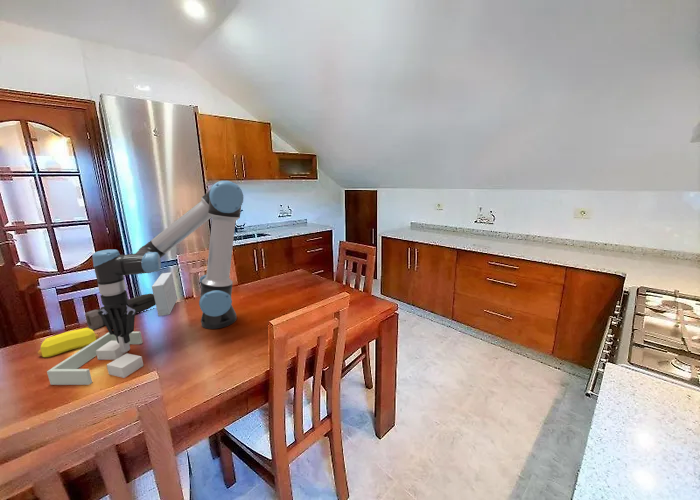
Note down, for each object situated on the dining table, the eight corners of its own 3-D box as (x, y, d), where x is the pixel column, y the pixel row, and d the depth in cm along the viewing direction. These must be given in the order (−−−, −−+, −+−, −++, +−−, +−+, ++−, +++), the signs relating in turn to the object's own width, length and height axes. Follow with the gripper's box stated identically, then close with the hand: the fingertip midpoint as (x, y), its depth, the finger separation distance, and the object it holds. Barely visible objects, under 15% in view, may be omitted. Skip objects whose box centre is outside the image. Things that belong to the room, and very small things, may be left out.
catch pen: (142, 342, 122) (140, 331, 120) (89, 384, 97) (85, 371, 96) (111, 342, 122) (109, 331, 121) (50, 384, 97) (46, 371, 96)
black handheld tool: (162, 311, 156) (93, 331, 130) (155, 312, 159) (86, 331, 133) (159, 291, 156) (88, 306, 129) (151, 292, 159) (81, 307, 133)
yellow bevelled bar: (39, 353, 115) (38, 362, 110) (34, 338, 113) (33, 345, 108) (99, 336, 127) (101, 343, 122) (95, 322, 125) (97, 328, 120)
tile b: (143, 366, 107) (141, 356, 106) (124, 378, 100) (121, 368, 99) (128, 363, 109) (126, 353, 108) (108, 374, 102) (106, 364, 101)
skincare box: (166, 300, 164) (161, 272, 160) (177, 299, 166) (173, 271, 162) (156, 316, 144) (151, 285, 141) (169, 314, 146) (164, 284, 143)
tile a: (130, 349, 117) (128, 340, 116) (116, 360, 110) (114, 350, 109) (112, 349, 117) (110, 340, 116) (98, 360, 110) (95, 350, 109)
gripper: (138, 288, 112) (149, 344, 117) (104, 288, 112) (116, 344, 117) (123, 296, 104) (135, 355, 110) (86, 296, 105) (100, 356, 110)
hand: (125, 350), depth 114 cm, fingers closed
